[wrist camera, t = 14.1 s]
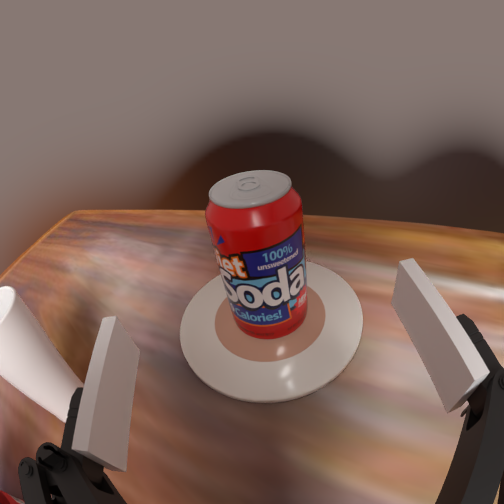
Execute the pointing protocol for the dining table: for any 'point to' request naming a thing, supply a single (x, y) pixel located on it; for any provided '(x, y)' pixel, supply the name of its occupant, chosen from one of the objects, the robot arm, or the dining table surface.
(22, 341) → the drinking glass
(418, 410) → the dining table surface
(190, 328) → the cream plate
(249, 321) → the soda can
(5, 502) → the canned food
